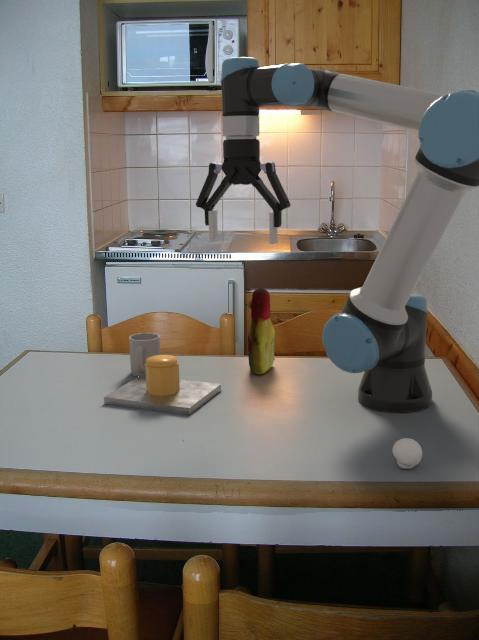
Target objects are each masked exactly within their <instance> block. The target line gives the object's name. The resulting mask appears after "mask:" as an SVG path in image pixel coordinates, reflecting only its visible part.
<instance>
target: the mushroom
mask: <svg viewBox="0 0 479 640" xmlns="http://www.w3.org/2000/svg"><path fill="white" fill-rule="evenodd" d="M391 451H392V454H393V456H394V458H395V459H396V463H397V465H398V466H399V467H400V468H401V469H403V470H409V469H413V468H414V467H416V466H417V465H419V463H420V462H421V460H422V458H423V450H422V447H421V445H420V444H419V442H417V441H416V440H415V439H413V438H409V437H403V438H400V439H398V440H396V441H395V442H394V444H393V446H392V450H391Z"/></svg>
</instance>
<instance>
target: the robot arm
mask: <svg viewBox="0 0 479 640" xmlns="http://www.w3.org/2000/svg"><path fill="white" fill-rule="evenodd" d="M220 84H221V87H220V88H221V101H222V102H221V103H222V137H225V139H224V140H223V141H222V158H223V162H222V163H218V162H210V163H209V164H208V174H207V176H206V179H205V181H204V183H203V186H202V188H201V190H200V193H199V195H198V198H197V200H196V202H195V206H196V207H197V208H200V209H202V210H203V211H204V224H205V227H206V226H207V227H208V238H209V239H208V240H209V241H208V242H209V243H214V242H216V241H218V240H219V239H218V210H217V209H215V208H214V207H216V205H217V204H218V202H219V201H220V200H221V198H222V197H223V196H224V195H225V193H226V192H227V191H228V190H229V188H230V187H231V186H232V185H234V186H235V185H236V186H239V185H243V186H248V185H251V186H252V187H254V188H255V189H256V191H257V192H258V193H259V194H260V195H261V197H262V198H263V199H264V201H265V202H266V203H267V205H268V206H269V207H270V208H271V209H272V211H269V212H268V215H269V216H268V217H269V219H268V220H269V221H268V222H269V225H268V226H269V227H268V228H269V229H268V230H269V245H274V244H277V243H278V228H281V226H282V212H283V210H285V209H286V210H287V209H288V208H290V207H291V202H290V200H289V198H288V195H287V193H286V191H285V190H284V187H283V185H282V183H281V181H280V178H279V177H278V175H277V173H276V171H277V170H276V164H275V162H273V161H270V162H269V161H268V162H266V163H262V162H261V160H260V159H261V153H260V152H261V148H260V147H261V145H260V143H261V142H260V139H257V137H259V136H260V108H263V107H299V108H300V107H301V108H306V107H307V108H316V109H320V110H324V111H328V112H333V113H338V114H342V115H345V116H350V117H355V118H358V119H361V120H366V121H370V122H374V123H377V124H378V123H379V124H382V125H386V126H390V127H394V128H398V129H402V130H407V131H411V132H415V133H417V134H418V139H419V148H418V149H417V152H416V155H415V156H414V162H415V165H416V167H417V173H416V176H415V178H414V179H413V182H412V183H411V186H410V188H409V189H408V192H407V193H406V196H405V198H404V200H403V202H402V204H401V207H400V209H399V211H398V212H397V215H396V217H395V218H394V221H393V223H392V225H391V226H390V228H389V230H388V231H389V232H388V233H387V235H386V238H385V240H384V241H383V244H382V246H381V248H380V250H379V252H378V254H377V256H376V258H375V260H374V262H373V264H372V266H371V268H370V270H369V272H368V275H367V276H366V279H365V281H364V283H363V285H362V286H361V287H357V288H354V289H352V290H351V291H350V293H349V295H348V297H347V298H346V301H345V304H344V306H343V308H342V310H341V311H340V313H336V314H334V315H333V316H331V317H330V318H329V319H328V320H327V321H326V322H325V323H324V327H323V329H322V334H321V335H322V336H321V338H322V339H321V340H322V341H321V342H322V346H323V347H324V349H325V354H326V356H327V358H328V359H329V360H330V361H331V363H332V364H334V366H335V367H336V368H338V369H340V370H341V371H343V372H346V373H349V374H360V373H363V375H362V378H361V380H360V383H359V385H358V389H357V390H358V391H357V392H358V395H357V396H358V397H357V399H358V402H359V403H361V404H362V405H363V406H365V407H368V408H370V409H373V410H377V411H382V412H389V413H411V412H418V411H421V410H425V409H427V408H429V407H430V406H431V405H432V403H433V391H432V386H431V383H430V379H429V377H428V372H427V369H426V367H425V366H426V365H425V364H426V363H425V362H426V343H427V342H426V340H427V322H428V315H429V314H428V313H429V311H428V301H427V298H426V297H425V296H424V295H422V294H419V293H413V292H414V291H415V288H416V287H417V285H418V283H419V281H420V280H421V277H422V275H423V273H424V272H425V270H426V268H427V266H428V264H429V261H430V260H431V258H432V257H433V254H434V252H435V251H436V249H437V246H438V245H439V243H440V241H441V239H442V238H443V235H444V233H445V231H446V229H447V228H448V226H449V224H450V222H451V220H452V218H453V217H454V215H455V212H456V211H457V209H458V207H459V205H460V203H461V201H462V200H463V197H464V195H465V194H466V193H467V192H468V191H472V190H475V189H477V188H479V91H477V90H473V89H472V90H471V89H467V90H466V89H465V90H463V89H462V90H458V91H454V92H449V93H447V94H443V93H439V92H433V91H427V90H424V89H418V88H414V87H409V86H405V85H398V84H394V83H388V82H384V81H380V80H374V79H370V78H366V77H360V76H354V75H351V74H345V73H340V72H337V71H334V70H332V69H326V68H310V67H308V66H307V65H306V64H304V63H290V62H288V63H287V62H286V63H284V64H276V65H267V66H260V64H259V60H258V59H257V58H256V57H249V56H248V57H246V56H240V57H229V58H226V59H224V60H223V61H222V64H221V79H220ZM221 171H222V172H223V174H224V175H225V176H224V177H223V179H221V182H220V184H219V185H218V186H217V188H215V189H216V190H215V191H214V192H213V194H212V191H213V188H214V186H215V184H216V181H217V178H218V176H219V174H221ZM261 171H262V172H263V173H264V174H266V177H267V180H268V181H269V184H270V186H271V188H272V190H273V192H274V195H275V196H274V195H273V193H272V192H271V191H270V188H268V187H267V186H266V184H265V183H264V180H263V179H262V178H261V177H260V176H259V174H261ZM210 195H211V196H210Z"/></svg>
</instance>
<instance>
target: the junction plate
mask: <svg viewBox="0 0 479 640" xmlns="http://www.w3.org/2000/svg"><path fill="white" fill-rule="evenodd" d="M179 383H180V390H179V391H178V392H176V393H175V394H171V395H164V396H159V395H151V394H149V393H148V392H147V387H146V376H145V375H141V376H139V377H138V376H136V378H134V379H132V380H131V381H129V382H127V383H126V384H124V385H122V386H120V387H118V388H117V389H115V390H114V391H112V392H110V393H108V394H107V395H105V396H103V404H104V405H109V406H110V405H111V406H118V407H125V408H127V407H128V408H134V409H141V410H149V411H154V412H155V411H158V412H164V413H165V412H166V413H171V414H172V413H173V414H179V415H186V416H190V415H191V414H193V413H194V412H195V411H197V410H198V409H199V408H200V407H202V406H203V405H204V404H206V403H207V402H208V401H209V400H211V399H212V398H213V397H215V396H216V395H218V394H219V393H220V392H221V391H222V384H221V383H214V382H206V381H205V382H204V381H197V380H187V379H180V378H179Z"/></svg>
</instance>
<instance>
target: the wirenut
mask: <svg viewBox="0 0 479 640" xmlns="http://www.w3.org/2000/svg"><path fill="white" fill-rule="evenodd" d="M145 367H146V387H147V392H148V393H149V394H151V395H159V396H164V395H171V394H175V393H176V392H178V391H179V390H180V383H179V379H180V364H179V362H178V357H177V356H175V355H172V354H171V355H170V354H161V355H156V356H152V357H149V358H147V359H146V364H145Z"/></svg>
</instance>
